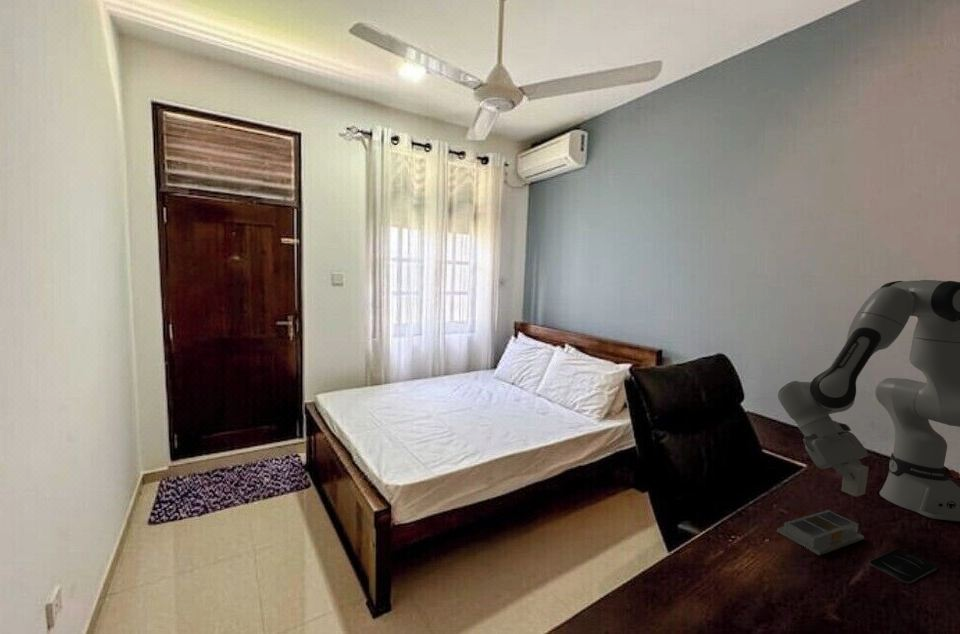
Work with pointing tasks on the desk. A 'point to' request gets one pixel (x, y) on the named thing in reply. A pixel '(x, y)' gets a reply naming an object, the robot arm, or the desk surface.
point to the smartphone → (903, 566)
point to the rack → (822, 531)
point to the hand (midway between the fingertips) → (857, 478)
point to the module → (860, 481)
